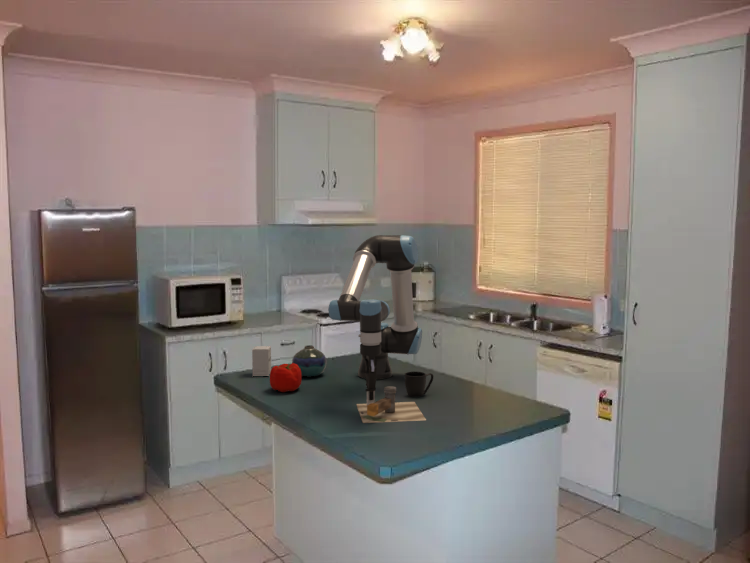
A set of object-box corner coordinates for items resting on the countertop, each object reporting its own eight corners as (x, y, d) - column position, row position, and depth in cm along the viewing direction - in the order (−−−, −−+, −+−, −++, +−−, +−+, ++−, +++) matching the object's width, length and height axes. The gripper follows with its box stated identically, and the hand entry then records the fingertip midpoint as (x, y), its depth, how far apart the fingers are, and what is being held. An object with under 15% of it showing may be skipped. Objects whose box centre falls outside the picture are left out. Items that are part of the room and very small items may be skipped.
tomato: (281, 396, 253) (280, 370, 252) (263, 389, 263) (263, 364, 262) (309, 390, 262) (309, 365, 261) (291, 384, 272) (291, 359, 271)
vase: (297, 370, 295) (296, 342, 294) (329, 371, 293) (329, 343, 291) (288, 379, 280) (287, 349, 278) (322, 380, 278) (322, 350, 276)
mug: (438, 398, 251) (438, 374, 250) (410, 401, 246) (410, 377, 245) (428, 392, 258) (428, 369, 257) (401, 396, 254) (401, 372, 253)
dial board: (356, 407, 239) (356, 403, 239) (414, 404, 242) (414, 401, 242) (362, 426, 217) (362, 422, 217) (426, 423, 220) (426, 419, 220)
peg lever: (387, 408, 232) (387, 385, 232) (398, 410, 230) (398, 387, 229) (364, 419, 220) (364, 395, 219) (375, 421, 217) (375, 397, 216)
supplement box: (268, 377, 283) (268, 349, 282) (252, 377, 283) (251, 349, 282) (271, 373, 290) (271, 345, 289) (255, 373, 290) (254, 345, 289)
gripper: (358, 339, 233) (358, 402, 236) (362, 347, 220) (362, 414, 223) (378, 339, 234) (378, 402, 237) (383, 346, 221) (383, 413, 224)
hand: (370, 407), depth 230 cm, fingers closed
